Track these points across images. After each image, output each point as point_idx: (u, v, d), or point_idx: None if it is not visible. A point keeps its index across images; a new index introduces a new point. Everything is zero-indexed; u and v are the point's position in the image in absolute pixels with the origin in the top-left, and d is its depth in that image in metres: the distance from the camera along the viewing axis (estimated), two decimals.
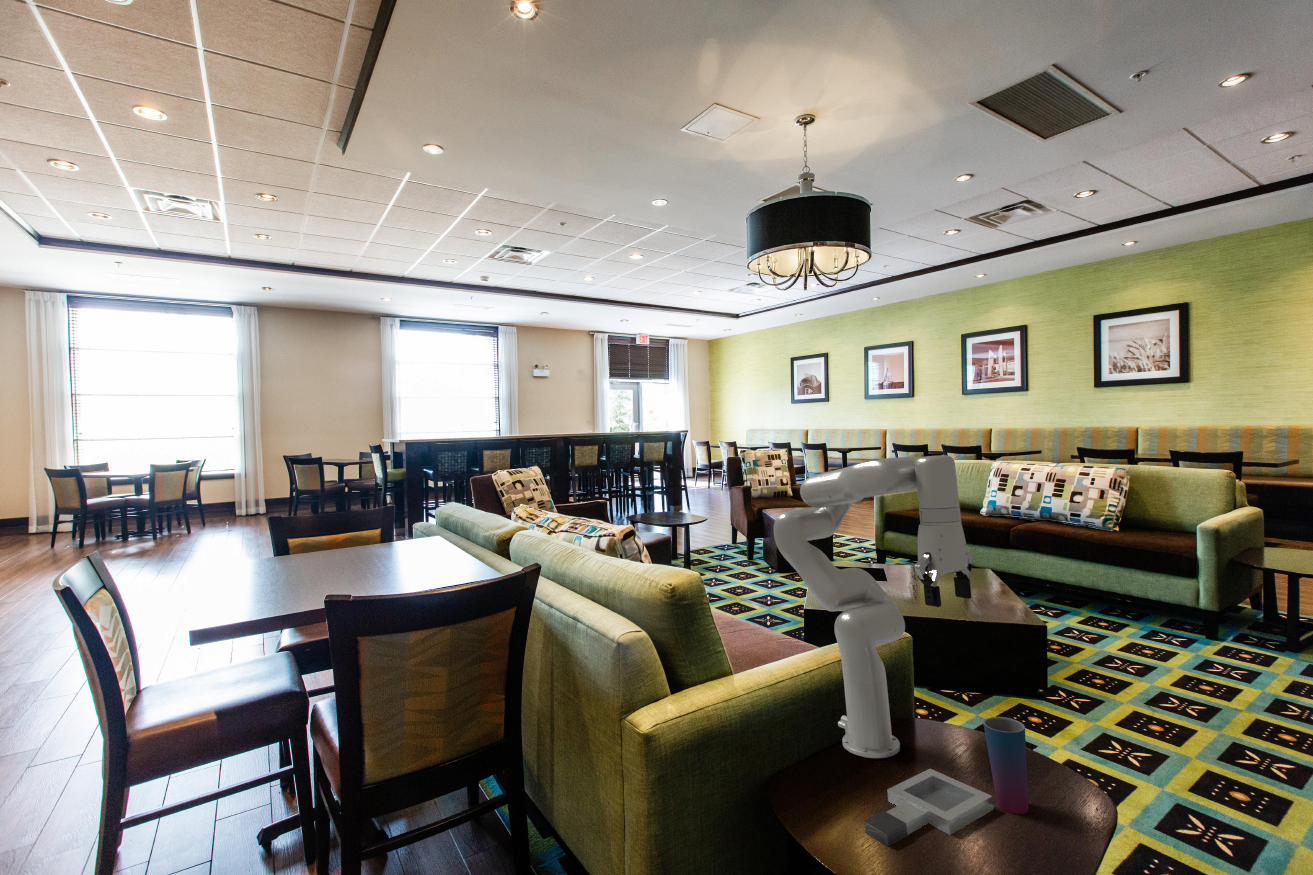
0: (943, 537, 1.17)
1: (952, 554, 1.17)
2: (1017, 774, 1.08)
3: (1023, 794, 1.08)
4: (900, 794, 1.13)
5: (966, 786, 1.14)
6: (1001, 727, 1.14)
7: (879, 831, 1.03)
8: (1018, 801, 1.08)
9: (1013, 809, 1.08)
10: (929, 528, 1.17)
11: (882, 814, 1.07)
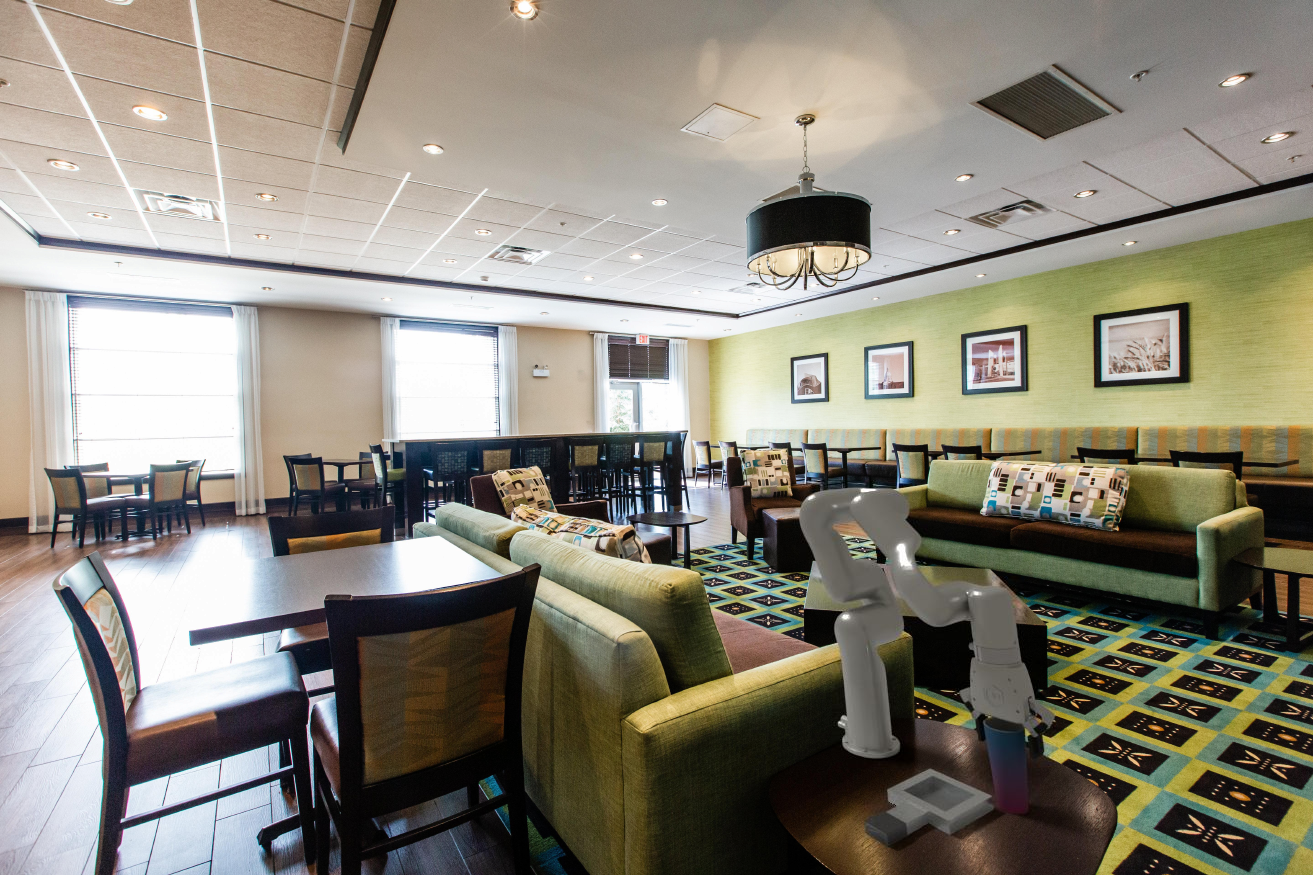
0: None
1: None
2: (1017, 774, 1.08)
3: (1023, 794, 1.08)
4: (900, 794, 1.13)
5: (966, 786, 1.14)
6: (1001, 727, 1.14)
7: (879, 831, 1.03)
8: (1018, 801, 1.08)
9: (1013, 809, 1.08)
10: (1024, 668, 1.08)
11: (882, 814, 1.07)
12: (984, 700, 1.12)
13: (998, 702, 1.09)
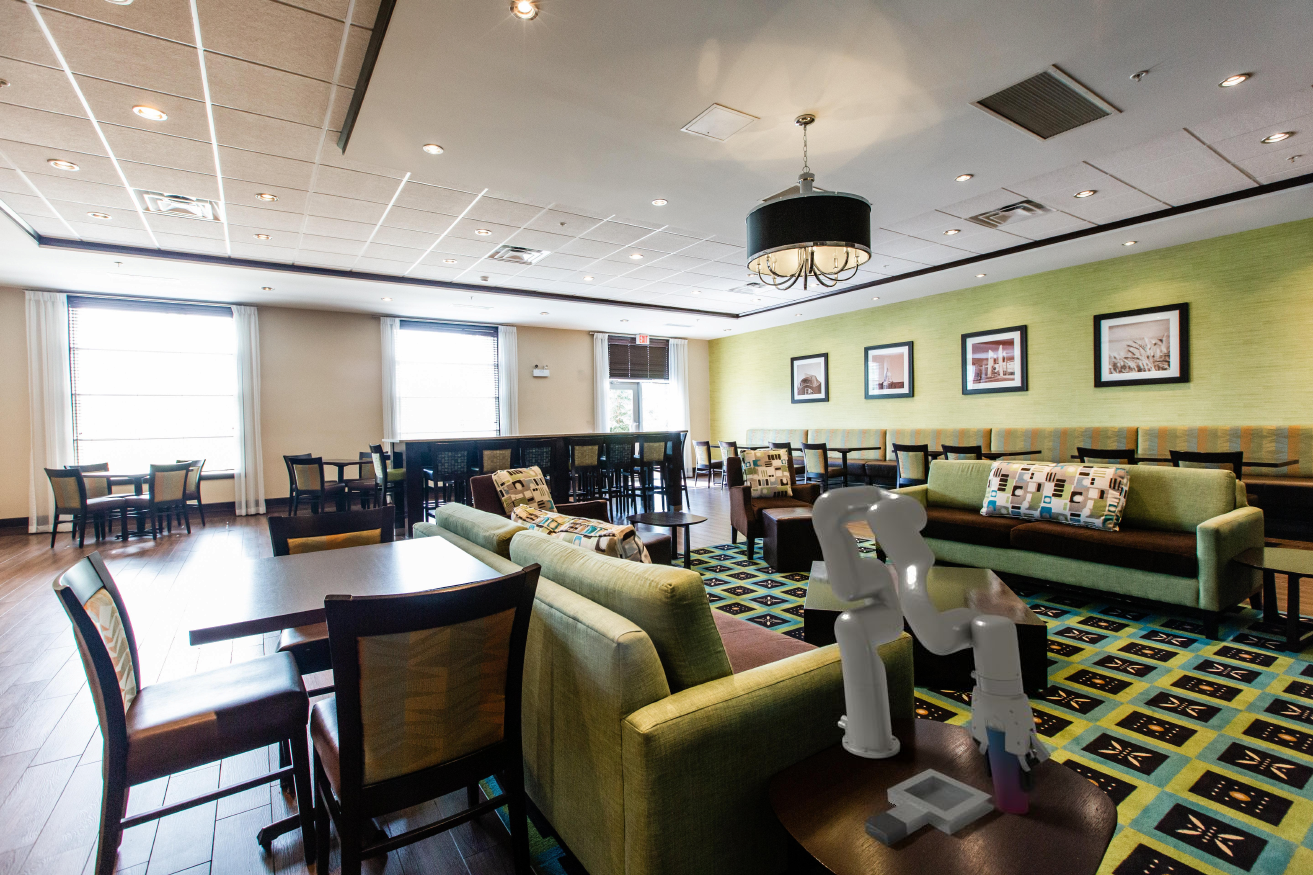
0: None
1: None
2: (1017, 774, 1.08)
3: (1023, 794, 1.08)
4: (900, 794, 1.13)
5: (966, 786, 1.14)
6: None
7: (879, 831, 1.03)
8: (1018, 801, 1.08)
9: (1013, 809, 1.08)
10: (1026, 700, 1.08)
11: (882, 814, 1.07)
12: (985, 729, 1.12)
13: None
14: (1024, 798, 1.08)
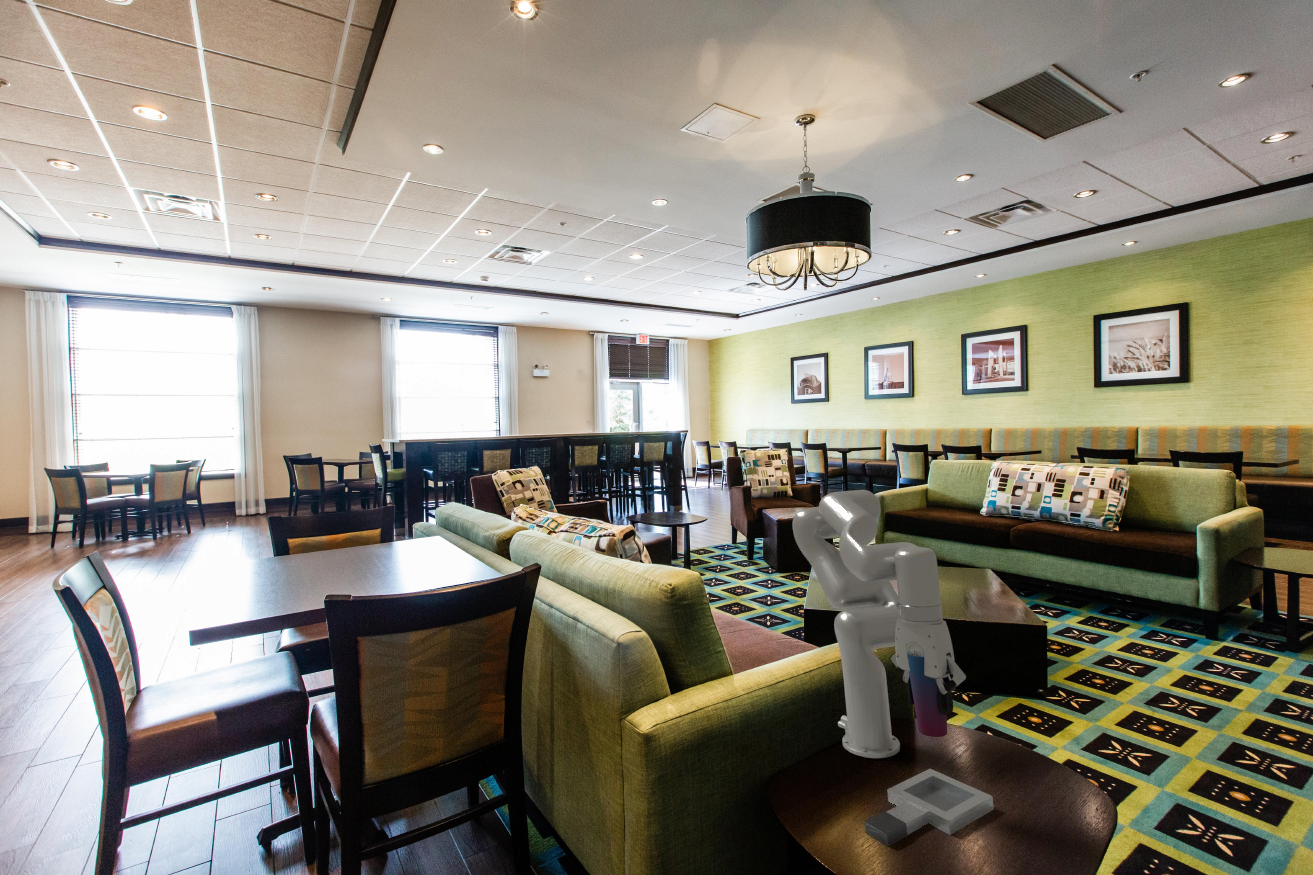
0: None
1: None
2: (935, 698, 1.11)
3: (941, 717, 1.11)
4: (900, 794, 1.13)
5: (966, 786, 1.14)
6: None
7: (879, 831, 1.03)
8: (936, 724, 1.11)
9: (932, 732, 1.11)
10: (944, 626, 1.11)
11: (882, 814, 1.07)
12: (906, 657, 1.14)
13: None
14: (942, 721, 1.11)
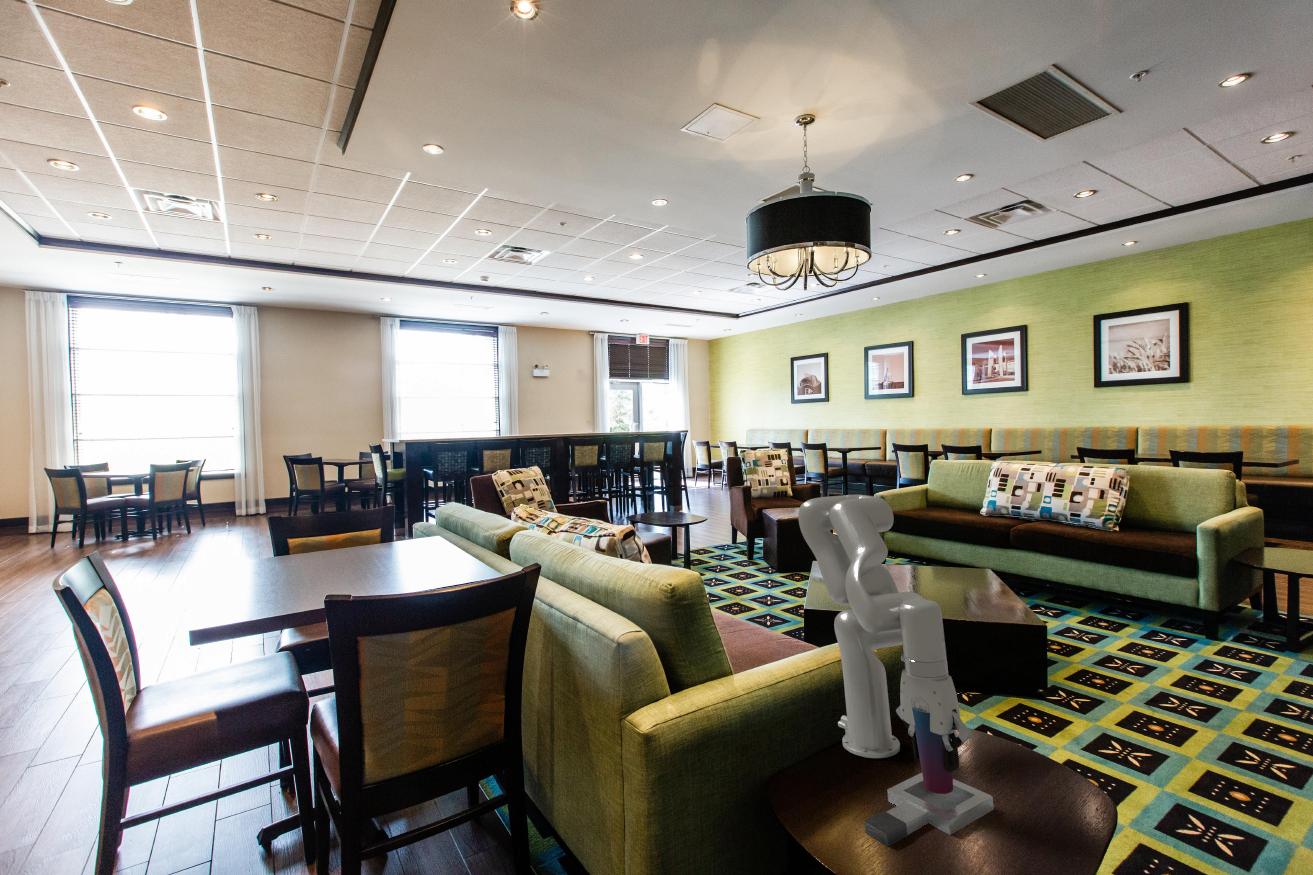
0: None
1: None
2: (941, 754, 1.10)
3: (947, 774, 1.10)
4: (900, 794, 1.13)
5: (966, 786, 1.14)
6: None
7: (879, 831, 1.03)
8: (942, 781, 1.10)
9: (937, 789, 1.10)
10: (950, 681, 1.10)
11: (882, 814, 1.07)
12: (912, 711, 1.14)
13: None
14: (948, 778, 1.10)
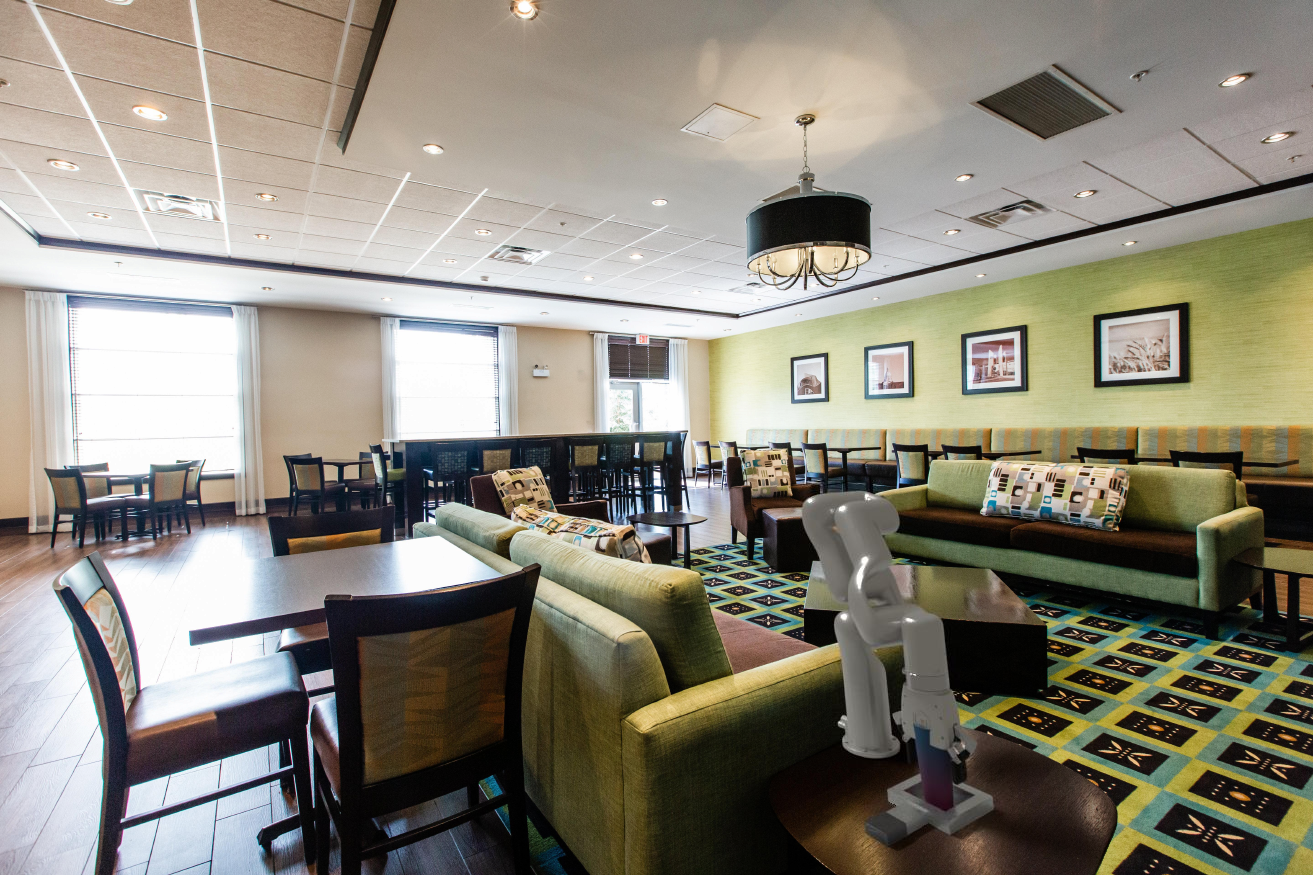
0: None
1: None
2: (942, 771, 1.10)
3: (948, 790, 1.10)
4: (900, 794, 1.13)
5: (966, 786, 1.14)
6: None
7: (879, 831, 1.03)
8: (943, 797, 1.10)
9: (938, 805, 1.10)
10: (951, 696, 1.10)
11: (882, 814, 1.07)
12: None
13: (925, 727, 1.11)
14: (949, 794, 1.10)
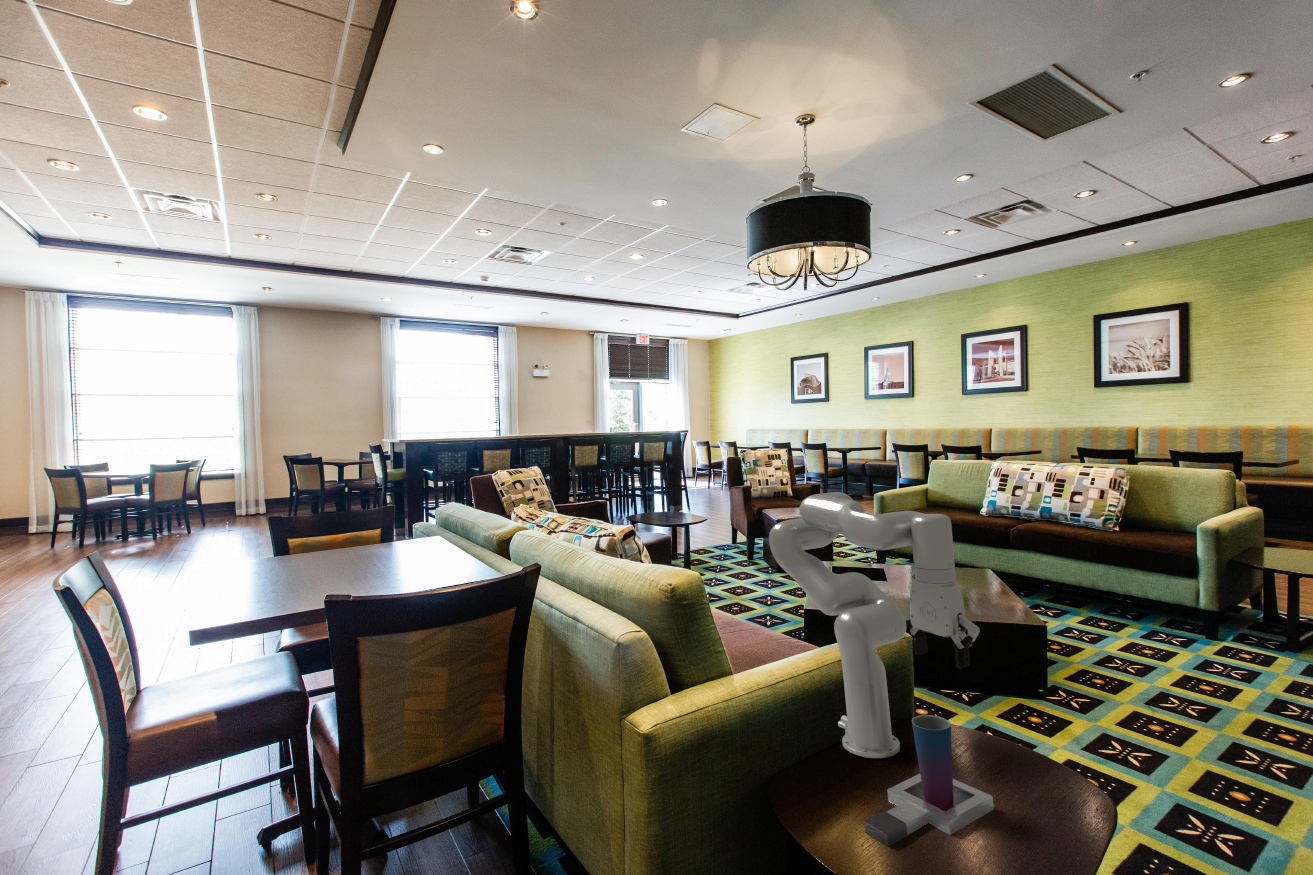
0: None
1: None
2: (942, 771, 1.10)
3: (948, 791, 1.10)
4: (900, 794, 1.13)
5: (966, 786, 1.14)
6: (930, 725, 1.16)
7: (879, 831, 1.03)
8: (943, 797, 1.10)
9: (938, 805, 1.10)
10: (957, 588, 1.17)
11: (882, 814, 1.07)
12: (920, 617, 1.21)
13: (931, 617, 1.18)
14: (949, 794, 1.10)
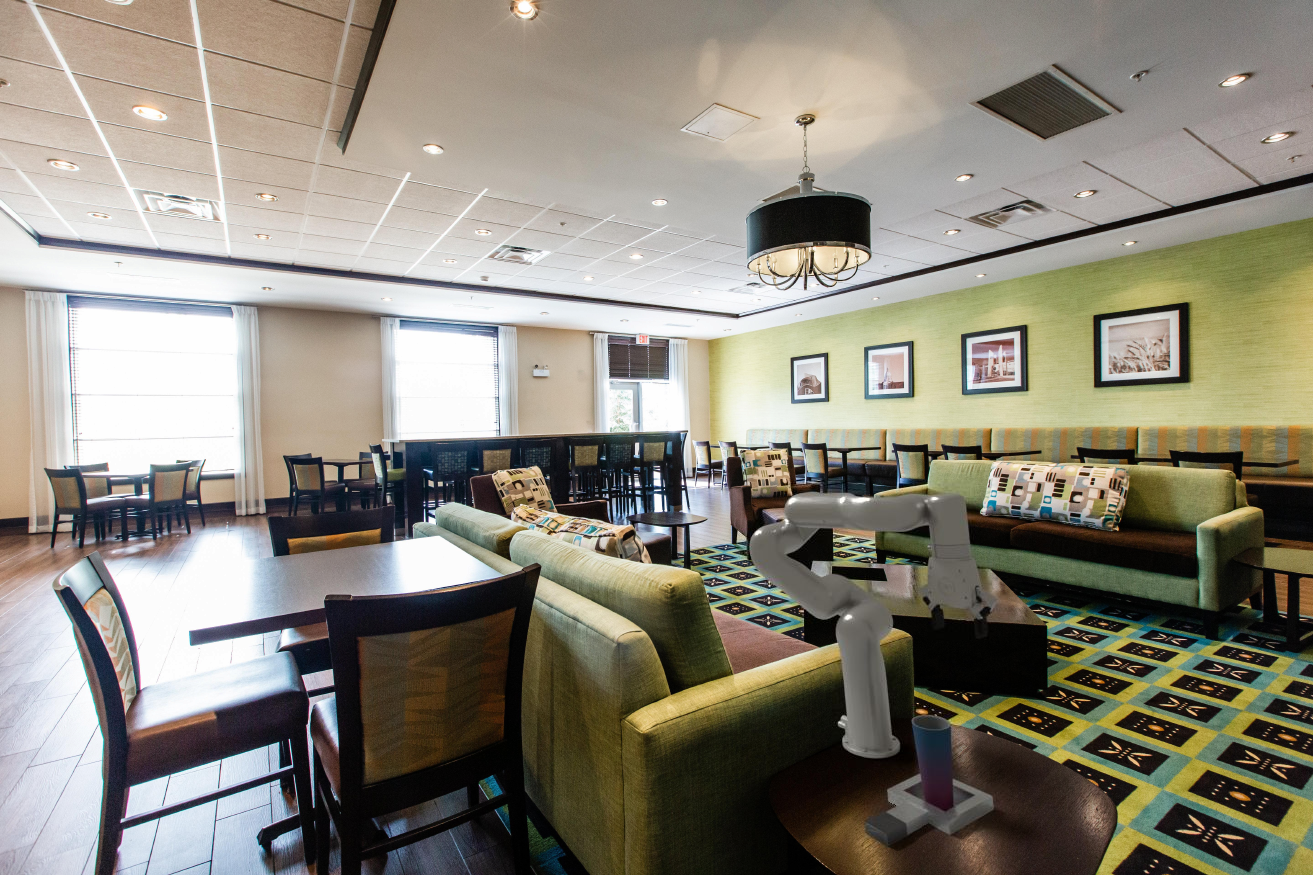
0: None
1: None
2: (942, 771, 1.10)
3: (948, 791, 1.10)
4: (900, 794, 1.13)
5: (966, 786, 1.14)
6: (930, 725, 1.16)
7: (879, 831, 1.03)
8: (943, 797, 1.10)
9: (938, 805, 1.10)
10: (973, 562, 1.24)
11: (882, 814, 1.07)
12: (938, 592, 1.27)
13: (950, 591, 1.25)
14: (949, 794, 1.10)
